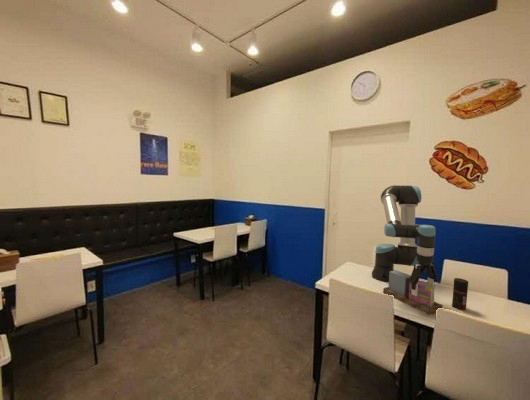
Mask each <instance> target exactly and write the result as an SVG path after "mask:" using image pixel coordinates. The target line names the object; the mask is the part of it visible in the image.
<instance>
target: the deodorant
mask: <svg viewBox="0 0 530 400" xmlns="http://www.w3.org/2000/svg"><path fill="white" fill-rule="evenodd" d="M468 290H469V281H468V280H467V279H464V278H458V277H455V278H454V279H453V289H452V303H451V307H452V308H454V309H456V310H459V311H466V310H467V302H468V301H467V300H468V292H469V291H468Z"/></svg>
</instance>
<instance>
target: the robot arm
mask: <svg viewBox="0 0 530 400" xmlns="http://www.w3.org/2000/svg"><path fill="white" fill-rule="evenodd" d="M380 202H381V204H382V205H383V209H384V215H385V218H386V223H385V225H384V228H383V230H384V235H385V236H386V237H390V238H399V239H400V241H399V242H398V243H397V246H395V244H392V243H380V244H378V245H376V247H375V259H374V267H373V269H372V271H371V277H372V278H373V279H375V280H378V281H380V282H385V283H386V282H387V283H389V272H390V271H395V268H394V266H395V265H400V266H408V267H413V270H411V271H412V272H411V274H410V275H411V277H410V280H409V282H411V283H412V291H411V294H412V295H414V296H417V291H418V284H417V282H418V281H420V279H421V276H422V275H424V274H425V273H426V274H427V276H428V277H427V282H426V283H430V284H434V280H436V279H437V276H438V275H437V271H436V267H435V262H434V253H435V243H436V234H437V233H436V227H435V226H434V225H431V224H417V223H416V208H417V207H418V206H419V204H420V203H421V202H422V191H421V189H420V188H419V186H417V185H397V184H396V185H394V184H393V185H390V186H388V187H386V188H384V190H383V191H382V192H381V194H380ZM397 203H398V205H397ZM398 206H399V207H400V213H399V209H398ZM416 239H417V244H416Z"/></svg>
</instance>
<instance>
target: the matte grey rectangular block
mask: <svg viewBox="0 0 530 400" xmlns="http://www.w3.org/2000/svg"><path fill="white" fill-rule="evenodd" d="M410 277H411V274H407V273H405V272H402V271H399V270H397V269H394V271H390V272H389V282H388V287H389V288H388V290H390V291H392V292H395V293H397V294H399V295H401V296H407V295H409V287H410V282H409V280H410Z"/></svg>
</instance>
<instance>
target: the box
mask: <svg viewBox="0 0 530 400" xmlns="http://www.w3.org/2000/svg"><path fill="white" fill-rule="evenodd" d="M417 284H418V291H417V296H414V295H412V294H411V291H412V283H411V282H410V287H409V299H410V300H412V301H414V302H416V303H419V304H421V305H423V306H425V307H427V308H432V307H433V306H434V302H435V291H436V285H435V284H434V283H433V284H430V283H427V282H426V281H422V280H419V281H418V282H417Z"/></svg>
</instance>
